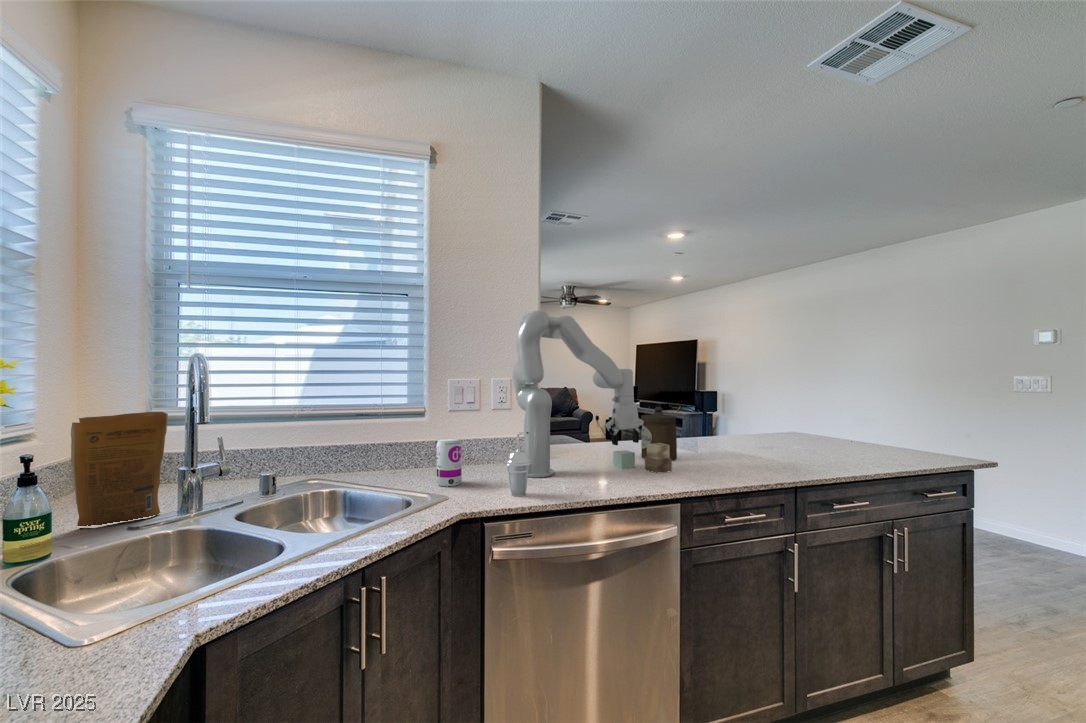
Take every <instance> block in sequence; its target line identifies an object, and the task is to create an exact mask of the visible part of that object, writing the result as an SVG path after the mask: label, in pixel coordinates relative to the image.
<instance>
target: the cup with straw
mask: <svg viewBox="0 0 1086 723" xmlns="http://www.w3.org/2000/svg"><path fill="white" fill-rule="evenodd" d="M524 434H528V432H524V431H523V432H522V431H521V432H517V433H516V449H515V450H514V449H513V450H512V451H511V452H510V453H509V454H508V455H507V458H506V459H505V460H504V464H505V465H506V466H507V468H506V469H507V473H508V478H509V487H510V493H511V494H510V496H512V497H524V496H527V495H526V494H527V493H526V492H527V488H528V487H527V486H528V478H529V477H528V472H529V467H530V464H532V460H530V459H529V456H528V454H527V453H526V452H525V451H524V450H522V449H520V436H522V435H523V436H524Z"/></svg>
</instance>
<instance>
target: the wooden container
mask: <svg viewBox="0 0 1086 723" xmlns="http://www.w3.org/2000/svg"><path fill="white" fill-rule="evenodd" d="M640 417H641V418H640V419H641V420H643V421H644V423H643V426H642V428H641V430H640V434H641V436H640V437H641V438H640V440H641V441H640V442H641V443H640V444H641V445H640V446H641V458H642V459H643V458H644V459H643V460H645V457H647V444H651V443H662V444H667V445H670V458H672V461H675V460H677V458H678V453H677V452H678V450H677V449H678V444H677V443H678V442H677V441H678V440H677V416H676V415H672V414H671V415H670V414H664V413H663V408H662V407H661V406H656V407H654V412H653V413H652V414H642V415H641V416H640Z"/></svg>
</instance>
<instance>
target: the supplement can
mask: <svg viewBox="0 0 1086 723" xmlns="http://www.w3.org/2000/svg"><path fill="white" fill-rule="evenodd" d="M462 474H463V473H462V442H461V440H460V438H458V437H456V438H455V437H447V438H439V439H438V440H437V443H436V484H437V485H438V486H440V487H443V486H444V488H445V486H446V488H449V487H448V486H451V487H455V486H456V485H457V486H459V485H460V484H461V483H462V478H463V477H462ZM457 486H456V487H457Z"/></svg>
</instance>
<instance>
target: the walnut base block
mask: <svg viewBox="0 0 1086 723" xmlns="http://www.w3.org/2000/svg"><path fill="white" fill-rule="evenodd" d="M672 461H673V460H672V458H668V459H659V460H656V459H652V458H649V457H645V459H644V470H645V469H646V470H645V471H648V470H649V471H648V472H651V471H653V472H652V473H654V472H656V473H655V474H659V473H658V472H663V473H668V472H667V471H671V472H672V468H673V467H672V466H673V465H672V464H673V463H672Z"/></svg>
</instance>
